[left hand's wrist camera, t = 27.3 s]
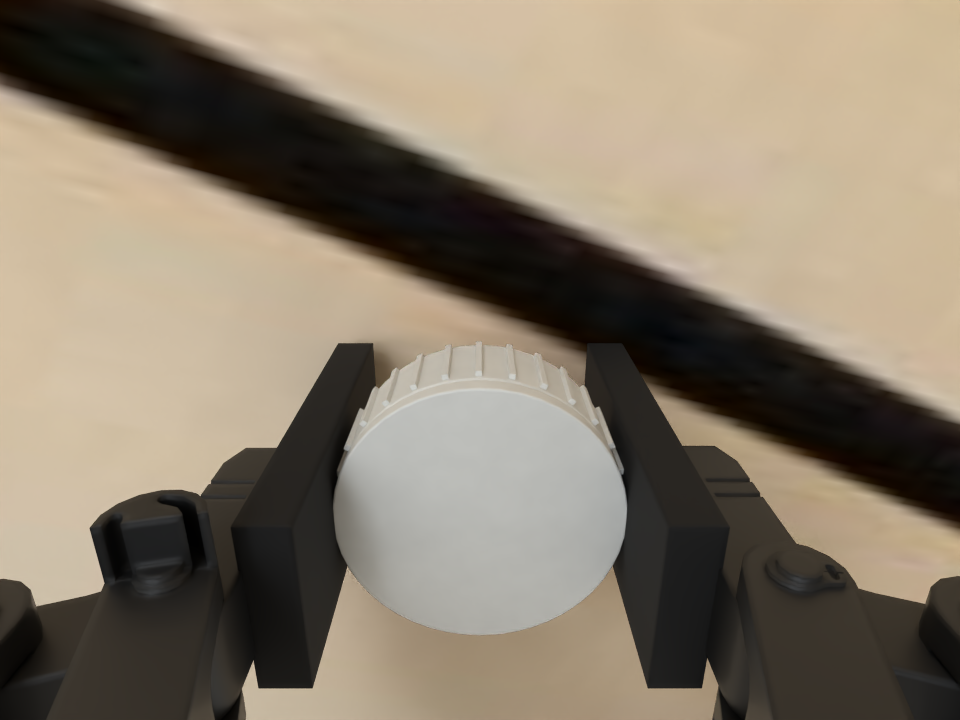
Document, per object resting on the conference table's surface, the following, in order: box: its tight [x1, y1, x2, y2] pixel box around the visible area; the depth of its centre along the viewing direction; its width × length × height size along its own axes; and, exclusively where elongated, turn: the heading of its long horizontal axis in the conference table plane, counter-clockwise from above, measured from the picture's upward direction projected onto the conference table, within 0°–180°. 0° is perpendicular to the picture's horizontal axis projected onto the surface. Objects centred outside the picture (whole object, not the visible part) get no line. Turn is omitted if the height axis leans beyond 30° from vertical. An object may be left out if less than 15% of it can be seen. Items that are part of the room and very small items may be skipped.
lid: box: [333, 342, 627, 635], centre depth 11 cm, size 5×5×2 cm
